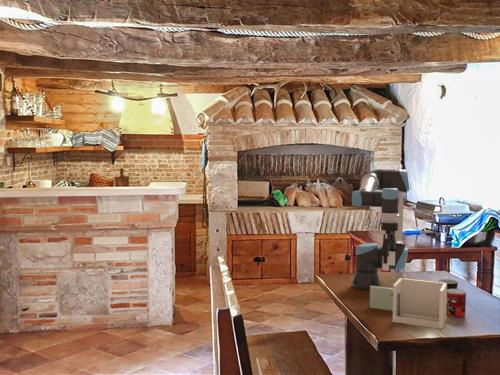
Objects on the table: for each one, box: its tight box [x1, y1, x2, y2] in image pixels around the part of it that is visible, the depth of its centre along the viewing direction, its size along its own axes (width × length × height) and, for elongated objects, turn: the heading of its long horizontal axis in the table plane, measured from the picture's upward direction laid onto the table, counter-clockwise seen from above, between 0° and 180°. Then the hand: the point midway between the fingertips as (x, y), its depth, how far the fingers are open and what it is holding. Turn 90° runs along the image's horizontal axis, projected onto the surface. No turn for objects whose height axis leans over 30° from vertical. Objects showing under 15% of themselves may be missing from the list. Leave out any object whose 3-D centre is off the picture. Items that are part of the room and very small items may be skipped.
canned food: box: [446, 288, 467, 319], centre depth 233 cm, size 8×8×11 cm
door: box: [369, 286, 393, 312], centre depth 242 cm, size 12×3×10 cm, turn 63°
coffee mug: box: [438, 278, 459, 290], centre depth 255 cm, size 12×9×10 cm
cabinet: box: [392, 277, 447, 330], centre depth 225 cm, size 20×14×16 cm
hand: (388, 267), depth 241 cm, fingers open, 13 cm apart
